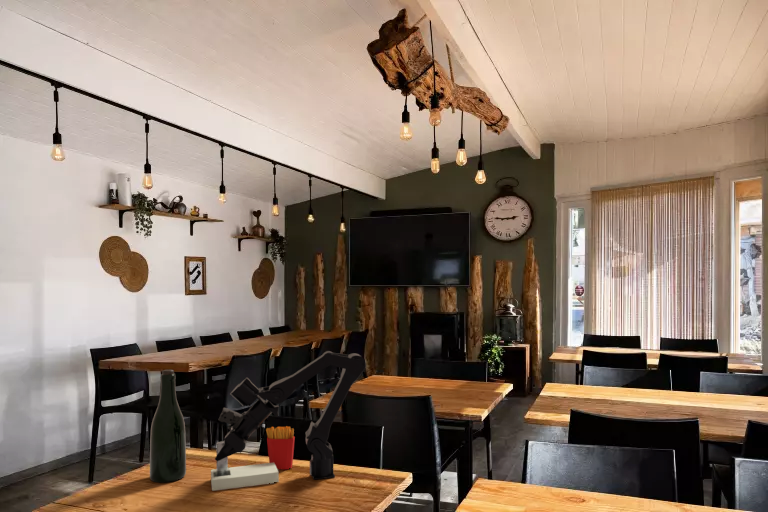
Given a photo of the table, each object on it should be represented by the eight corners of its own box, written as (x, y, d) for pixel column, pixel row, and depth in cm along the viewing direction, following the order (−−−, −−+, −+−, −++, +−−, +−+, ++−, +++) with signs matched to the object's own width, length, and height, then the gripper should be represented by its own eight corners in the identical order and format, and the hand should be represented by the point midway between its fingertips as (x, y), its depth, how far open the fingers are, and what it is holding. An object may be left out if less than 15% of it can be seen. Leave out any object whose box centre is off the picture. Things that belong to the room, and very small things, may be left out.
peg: (228, 481, 171) (228, 441, 172) (226, 485, 168) (226, 444, 169) (218, 482, 171) (218, 441, 172) (215, 485, 168) (215, 444, 169)
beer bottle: (190, 471, 182) (190, 367, 183) (179, 483, 171) (179, 372, 173) (157, 472, 181) (157, 367, 183) (144, 484, 171) (144, 372, 172)
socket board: (274, 472, 179) (274, 462, 180) (278, 482, 170) (278, 472, 170) (211, 479, 173) (211, 469, 174) (212, 490, 164) (212, 480, 164)
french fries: (295, 465, 186) (295, 424, 186) (292, 469, 182) (292, 428, 182) (268, 465, 187) (267, 424, 187) (264, 469, 182) (264, 428, 183)
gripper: (237, 393, 181) (201, 430, 178) (232, 405, 162) (192, 447, 160) (263, 416, 182) (227, 454, 179) (261, 431, 164) (221, 473, 161)
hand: (217, 456), depth 170 cm, fingers open, 7 cm apart
